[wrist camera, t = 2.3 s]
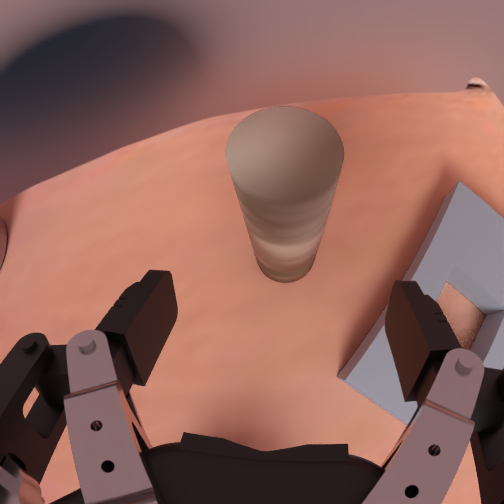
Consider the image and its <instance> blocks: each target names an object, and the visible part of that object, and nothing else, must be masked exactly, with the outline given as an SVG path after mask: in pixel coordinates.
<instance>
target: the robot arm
mask: <svg viewBox="0 0 504 504" xmlns="http://www.w3.org/2000/svg"><path fill="white" fill-rule="evenodd" d="M6 245H7V230H6V225H5V223H4V221H3V220H2V219H1V218H0V268H1V265H2V262H3V259H4V255H5V251H6ZM177 313H178V307H177V301H176V296H175V290H174V285H173V279H172V275H171V273H170V271H163V270H149V271H148V272H147V273H146V274H145V276H144V277H143V278H142V280H141V281H140V282H136V283H134V284H133V285H131V286H130V287H128V288H127V289H125V291H124V292H123V293H122V294H121V296H120V297H119V299H118V300H117V301H116V302H115V303H114V306H113V307H111V309H110V310H109V311H108V313H107V314H106V315H105V317H104V318H103V319H102V321H101V322H100V323H99V325H98V326H97V327H96V329H95V330H86V331H83V332H80V333H78V334H76V335H75V336H74V337H72V338H71V339H70V341H69V342H68V344H67V345H50V344H49V342H48V340H47V338H46V336H45V335H44V334H42V333H31V334H28V335H26V336H24V337H22V338H21V339H20V340H19V341H18V342H17V343H16V344H15V346H14V347H13V348H12V350H11V351H10V352H9V353H8V355H7V356H6V357H5V359H4V360H3V361H2V363H1V364H0V504H45V500H44V498H43V497H42V496H41V488H40V486H39V485H40V482H41V480H42V478H43V475H44V473H45V471H46V468H47V466H48V464H49V461H50V459H51V457H52V455H53V452H54V450H55V448H56V446H57V444H58V441H59V439H60V437H61V435H62V433H63V431H64V429H65V427H66V425H67V427H68V433H69V438H70V444H71V449H72V454H73V458H74V463H75V467H76V471H77V476H78V480H79V483H80V487H81V488H79V489H78V490H76V491H74V492H72V493H70V494H68V495H66V496H64V497H62V498H60V499H58V500H56V501H54V502H52V503H50V504H441V503H442V501H443V499H444V497H445V495H446V493H447V491H448V489H449V487H450V485H451V483H452V481H453V479H454V477H455V474H456V472H457V470H458V468H459V465H460V463H461V461H462V458H463V456H464V453H465V451H466V448H467V446H468V443H469V440H470V443H471V447H472V452H473V456H474V461H475V466H476V472H477V477H478V483H479V490H480V497H481V504H504V368H503V370H500V369H494V368H487V367H484V365H483V362H482V361H481V359H480V358H479V357H478V356H477V355H476V354H475V353H473V352H472V351H470V350H467V349H462V348H461V346H460V344H459V342H458V340H457V338H456V336H455V334H454V332H453V330H452V328H451V326H450V324H449V323H447V319H446V317H445V315H443V312H442V310H441V308H440V306H439V304H438V303H437V302H436V301H435V300H434V299H433V298H431V297H430V296H429V295H424V294H423V292H422V290H421V288H420V286H419V285H418V283H417V282H416V281H399V280H397V281H395V283H394V285H393V289H392V293H391V297H390V301H389V305H388V308H387V312H386V316H385V332H386V336H387V339H388V342H389V346H390V349H391V353H392V356H393V360H394V363H395V367H396V370H397V374H398V378H399V382H400V385H401V389H402V393H403V397H404V401H405V402H411V401H417V405H418V407H417V409H416V410H415V412H414V414H413V416H412V417H411V419H410V421H409V423H408V424H407V426H406V428H405V429H404V431H403V433H402V435H401V436H400V438H399V439H398V441H397V443H396V444H395V446H394V447H393V449H392V450H391V452H390V453H389V455H388V456H387V458H386V459H385V461H384V462H383V463H382V465H381V466H378V465H377V464H375V463H373V462H371V461H369V460H366V459H364V458H361V457H358V456H354V455H350V454H349V453H348V444H307V445H302V446H297V447H292V448H286V449H280V450H274V451H266V452H265V451H259V450H256V449H252V448H249V447H246V446H243V445H240V444H237V443H234V442H232V441H229V440H226V439H223V438H217V437H210V436H203V435H197V434H191V433H186V432H184V433H183V436H182V439H181V442H176V443H168V444H164V445H159V446H156V447H152V445H151V443H150V441H149V439H148V437H147V435H146V433H145V430H144V428H143V425H142V422H141V420H140V417H139V414H138V412H137V409H136V406H135V403H134V401H133V398H132V395H131V393H130V391H129V390H130V388H131V386H132V384H136V385H141V386H145V385H146V382H147V380H148V378H149V376H150V374H151V372H152V370H153V368H154V365H155V363H156V361H157V359H158V357H159V355H160V353H161V351H162V349H163V347H164V345H165V343H166V340H167V338H168V336H169V334H170V332H171V330H172V328H173V326H174V324H175V322H176V319H177ZM34 387H35V388H36V390H37V391H38V393H39V396H38V398H37V399H36V401H35V403H34V404H33V406H32V408H31V410H30V411H29V413H28V415H27V417H26V419H25V418H24V415H23V406H24V403H25V402H26V400H27V398H28V397H29V395H30V393H31V392H32V390H33V388H34Z"/></svg>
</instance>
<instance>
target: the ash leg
mask: <svg viewBox="0 0 504 504" xmlns="http://www.w3.org/2000/svg"><path fill="white" fill-rule="evenodd" d="M226 159H227V164H228V167H229V170H230V173H231V177H232V180H233V183H234V187H235V190H236V193H237V197H238V200H239V203H240V206H241V210H242V213H243V216H244V220H245V223H246V226H247V230H248V233H249V236H250V240H251V243H252V246H253V249H254V253H255V256H256V259H257V263H258V265H259V267H260V269H261V271H262V272H263V273H264V274H265V275H266V276H267V277H269V278H270V279H272V280H274V281H277V282H282V283H289V282H294V281H297V280H299V279H301V278H302V277H304V276H305V275H306V274H307V273H308V272H309V271H310V269H311V267H312V265H313V263H314V260H315V256H316V253H317V250H318V247H319V244H320V240H321V237H322V234H323V231H324V227H325V224H326V221H327V217H328V214H329V210H330V207H331V204H332V200H333V197H334V193H335V189H336V186H337V182H338V179H339V175H340V171H341V168H342V164H343V160H344V148H343V144H342V141H341V138H340V136H339V134H338V133H337V131H336V130H335V128H334V127H333V126H332V125H331V124H330V123H329V122H328V121H327V120H325V119H324V118H323V117H321V116H319V115H318V114H316V113H313V112H311V111H309V110H306V109H302V108H298V107H290V106H279V107H271V108H267V109H263V110H260V111H257V112H255V113H253V114H251V115H249V116H248V117H246V118H245V119H243V120H242V121H241V122H240V123H239V124H238V125H237V126H236V127H235V128H234V130H233V131H232V133H231V135H230V137H229V139H228V142H227V146H226Z"/></svg>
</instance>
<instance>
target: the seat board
mask: <svg viewBox="0 0 504 504" xmlns="http://www.w3.org/2000/svg"><path fill="white" fill-rule="evenodd" d="M402 281H416V282H417V283H418V285H419V286H420V288H421V290H422V292H423V294H424V295H429V296H430V297H431V298H433V299H434V300H435V301H436V300H437V298H438V296H439V294H440V293H441V291H442V289H443V287H444V285H445V283H446V281H447V282H448V283H449V284H450V285H452V286H453V287H454V288H455V289H456V290H458V291H459V292H460V293H461V294H462V295H464V296H465V297H466V298H467V299H468V300H469V301H471V302H472V303H473V304H474V305H475V306H476V307H478V308H479V309H480V310H481V311H482V312H483V313H484V314H485V315H486V317H485V319H484V321H483V324H482V326H481V328H480V330H479V332H478V334H477V336H476V339H475V341H474V343H473V345H472V347H471V349H470V351H472V352H473V353H475V354H476V355H477V356H478V357H479V358H480V359H481V361H482V362H483V365H484V367H487V368H494V369H500V370H503V368H504V218H503V217H502V216H500V215H499V214H498V213H497V212H496V211H495V210H494V209H493V208H492V207H490V206H489V205H488V204H487V203H486V202H485V201H483V200H482V199H481V198H480V197H479V196H478V195H476V194H475V193H474V192H473V191H471V190H470V189H469V188H468V187H467V186H465V185H464V184H463V183H461V182H460V181H459V182H458V183H457V184H456V185H455V186H454V187H453V189H452V190H451V191H450V192H449V193H448V194H447V195H446V197H445V198H444V200H443V203H442V205H441V207H440V209H439V211H438V213H437V215H436V217H435V219H434V221H433V223H432V225H431V227H430V229H429V231H428V233H427V235H426V237H425V239H424V241H423V243H422V245H421V247H420V249H419V251H418V252H417V254H416V256H415V258H414V260H413V261H412V263H411V265H410V267H409V269H408V270H407V272H406V274H405V276H404V277H403V279H402ZM388 305H389V302H388V304H387V305H386V307H385V309H384V310H383V312H382V313H381V315H380V316H379V318H378V319H377V321H376V322H375V324H374V325H373V327H372V328H371V330H370V331H369V333H368V334H367V336H366V337H365V339H364V340H363V342H362V343H361V344H360V346H359V347H358V349H357V350H356V351H355V353H354V354H353V356H352V357H351V358H350V360H349V361H348V362H347V364H346V365H345V367H344V368H343V369H342V371H341V372H340V373H339V374H338V376H337V377H338V378H339V379H341V380H342V381H343V382H345V383H346V384H348V385H349V386H350V387H352V388H353V389H355V390H356V391H358V392H359V393H360V394H362V395H363V396H365V397H366V398H368V399H369V400H370V401H372V402H373V403H375V404H376V405H378V406H379V407H381V408H382V409H384V410H385V411H386V412H388V413H389V414H391V415H392V416H394V417H395V418H397V419H398V420H400V421H401V422H403V423H404V424H406V425H407V424H408V423H409V421H410V419H411V417H412V416H413V414H414V412H415V410H416V409H417V407H418V405H417V401H411V402H405V401H404V397H403V393H402V389H401V385H400V382H399V378H398V374H397V370H396V367H395V363H394V360H393V356H392V353H391V349H390V346H389V342H388V339H387V336H386V332H385V316H386V312H387V308H388Z"/></svg>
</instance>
